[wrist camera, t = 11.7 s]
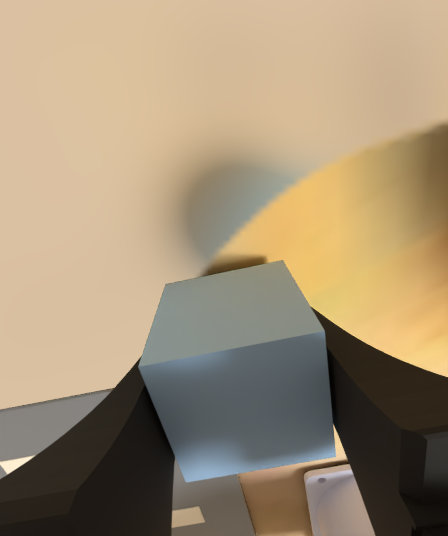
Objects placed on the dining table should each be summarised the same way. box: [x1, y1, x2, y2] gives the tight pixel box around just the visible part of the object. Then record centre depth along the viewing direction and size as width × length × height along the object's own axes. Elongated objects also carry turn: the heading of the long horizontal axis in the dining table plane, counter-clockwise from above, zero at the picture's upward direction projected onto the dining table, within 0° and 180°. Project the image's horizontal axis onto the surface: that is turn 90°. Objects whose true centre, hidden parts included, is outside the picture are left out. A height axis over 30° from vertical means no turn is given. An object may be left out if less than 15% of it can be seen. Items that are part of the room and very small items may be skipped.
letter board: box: [0, 388, 256, 536], centre depth 19 cm, size 16×16×1 cm
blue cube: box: [138, 260, 336, 482], centre depth 11 cm, size 5×5×5 cm
